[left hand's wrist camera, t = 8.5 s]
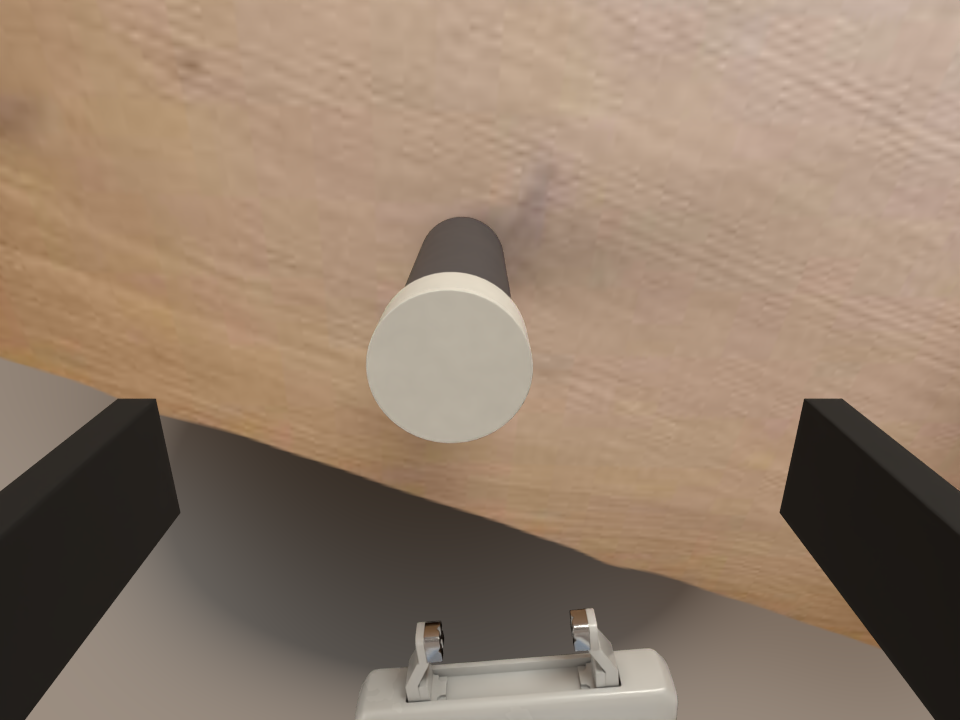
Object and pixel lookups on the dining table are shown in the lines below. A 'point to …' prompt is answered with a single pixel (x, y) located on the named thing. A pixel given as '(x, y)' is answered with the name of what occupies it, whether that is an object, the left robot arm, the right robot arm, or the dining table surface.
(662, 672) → the right robot arm
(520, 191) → the dining table surface
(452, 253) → the dark grey bottle
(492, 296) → the lid
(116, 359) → the dining table surface
